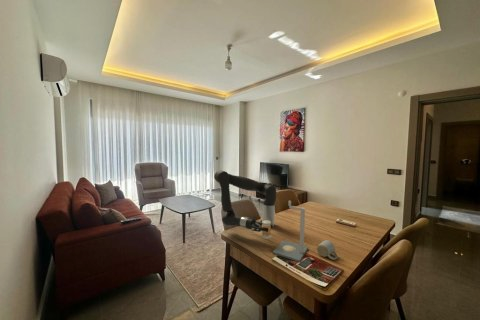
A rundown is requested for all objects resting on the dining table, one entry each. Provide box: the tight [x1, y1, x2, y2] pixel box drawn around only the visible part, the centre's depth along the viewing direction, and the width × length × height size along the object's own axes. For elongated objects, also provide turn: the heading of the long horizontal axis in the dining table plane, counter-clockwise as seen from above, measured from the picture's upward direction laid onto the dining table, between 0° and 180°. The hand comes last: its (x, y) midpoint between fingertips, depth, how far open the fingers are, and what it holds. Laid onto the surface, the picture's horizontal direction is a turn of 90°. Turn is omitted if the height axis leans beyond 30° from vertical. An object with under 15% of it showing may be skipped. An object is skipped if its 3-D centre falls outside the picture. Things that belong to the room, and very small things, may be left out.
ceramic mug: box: [316, 239, 338, 261], centre depth 117 cm, size 11×8×8 cm
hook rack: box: [272, 200, 309, 263], centre depth 122 cm, size 18×16×31 cm
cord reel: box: [261, 219, 272, 240], centre depth 131 cm, size 6×6×10 cm
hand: (270, 228), depth 130 cm, fingers closed on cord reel, 5 cm apart
